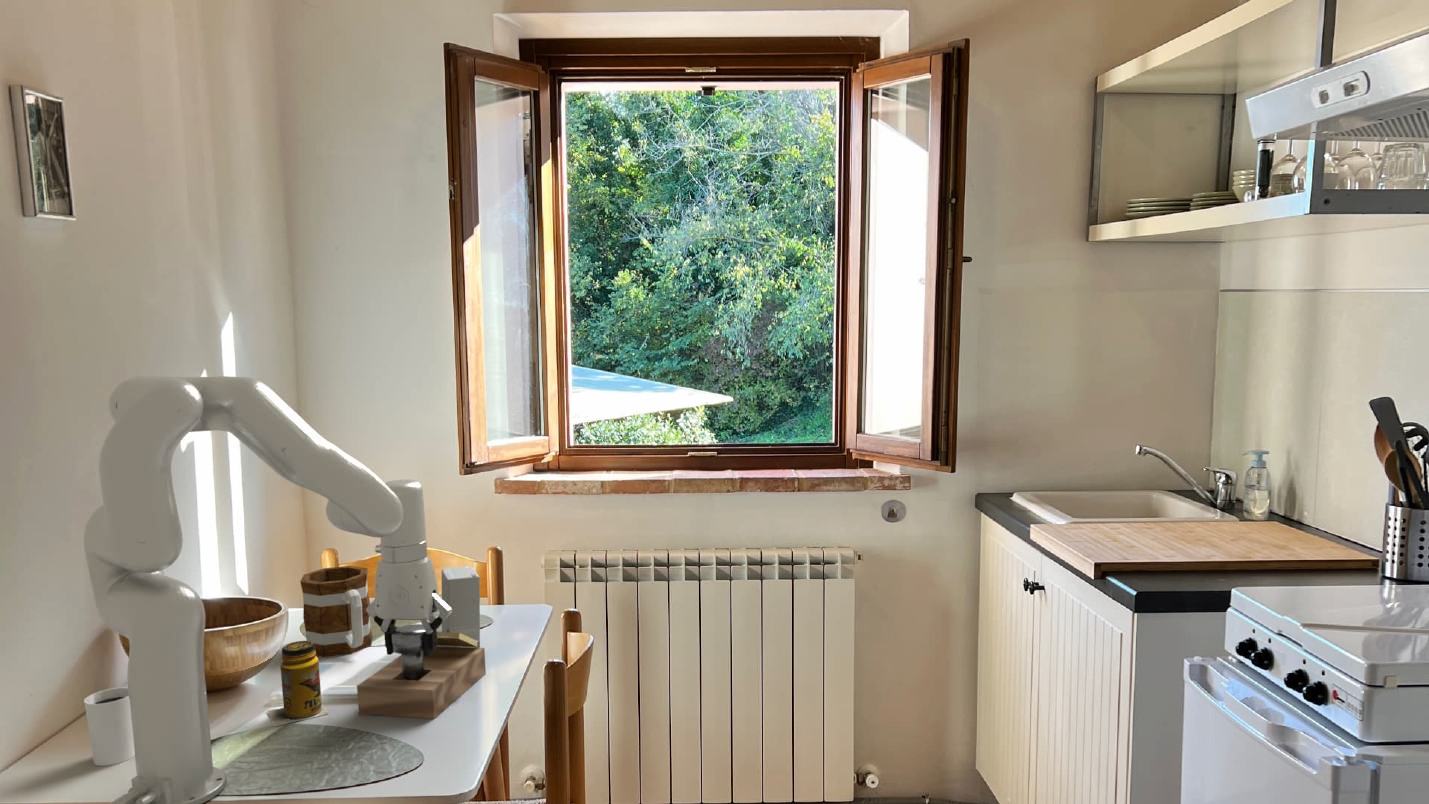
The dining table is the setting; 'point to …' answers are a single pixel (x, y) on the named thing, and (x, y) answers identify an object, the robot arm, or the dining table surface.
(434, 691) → the block
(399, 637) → the steel pin
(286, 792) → the dining table surface
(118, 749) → the white cup
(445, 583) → the skincare box
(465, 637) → the brass keeper
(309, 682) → the condiment
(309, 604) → the mug
